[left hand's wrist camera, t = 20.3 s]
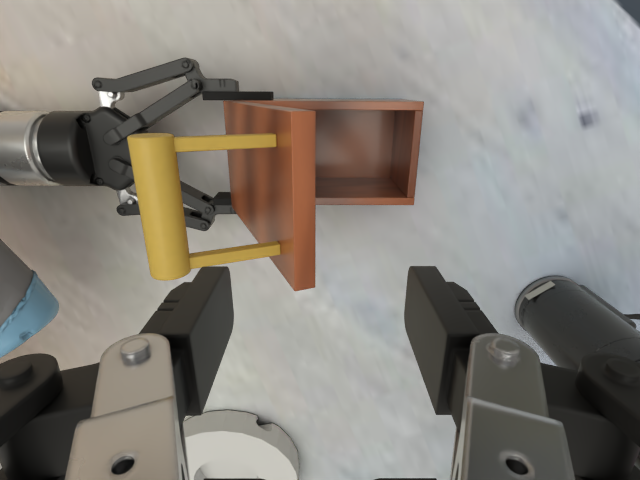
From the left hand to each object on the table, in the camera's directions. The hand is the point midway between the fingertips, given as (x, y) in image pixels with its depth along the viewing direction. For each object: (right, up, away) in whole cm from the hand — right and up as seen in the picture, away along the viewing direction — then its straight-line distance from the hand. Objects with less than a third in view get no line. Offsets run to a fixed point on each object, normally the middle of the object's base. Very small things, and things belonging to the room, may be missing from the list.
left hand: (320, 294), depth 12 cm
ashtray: (-15, -36, +54) cm, 67 cm away
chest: (+1, +13, +34) cm, 37 cm away
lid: (-4, +7, +17) cm, 18 cm away
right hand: (-5, +11, +28) cm, 31 cm away
